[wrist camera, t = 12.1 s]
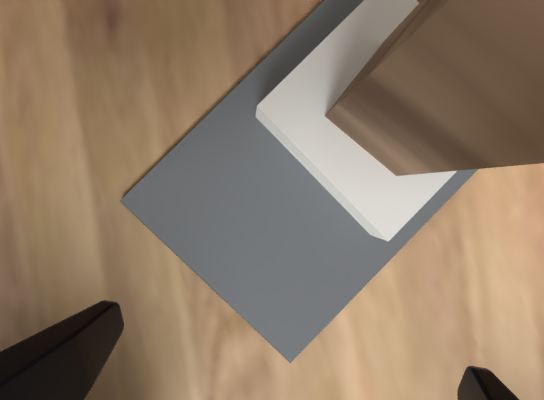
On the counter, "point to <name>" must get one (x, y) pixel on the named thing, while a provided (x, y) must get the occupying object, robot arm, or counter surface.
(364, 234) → the build board
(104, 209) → the counter surface
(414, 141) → the walnut pillar block
